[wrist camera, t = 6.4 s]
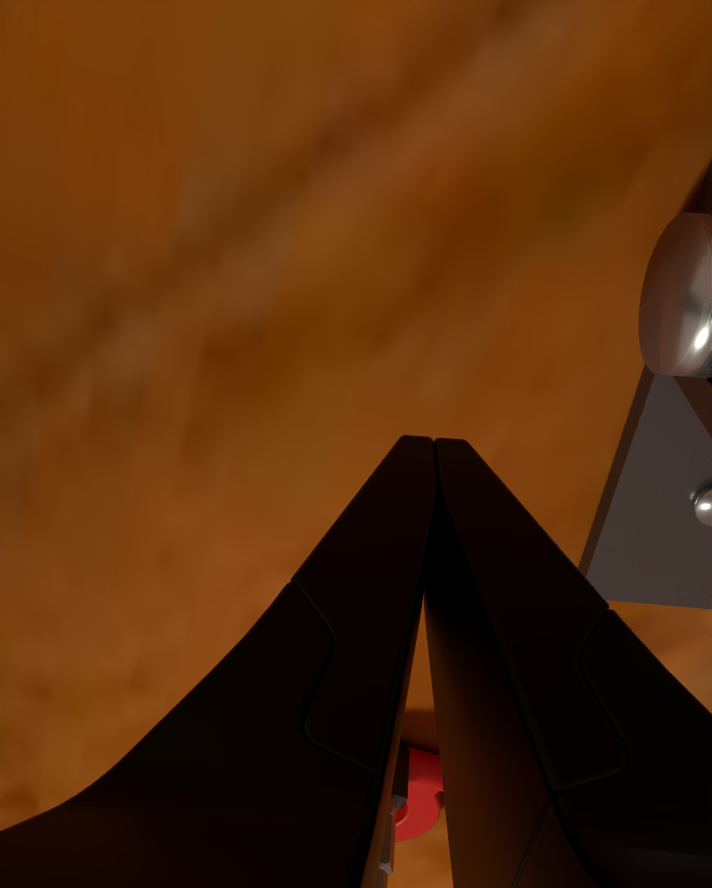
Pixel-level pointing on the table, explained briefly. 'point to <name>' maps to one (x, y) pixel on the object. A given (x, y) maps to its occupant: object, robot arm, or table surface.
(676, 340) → the pin
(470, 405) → the table surface
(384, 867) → the tow hook
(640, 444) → the hinge
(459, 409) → the table surface
